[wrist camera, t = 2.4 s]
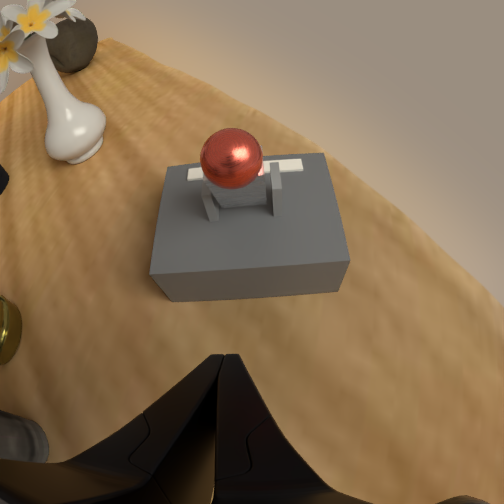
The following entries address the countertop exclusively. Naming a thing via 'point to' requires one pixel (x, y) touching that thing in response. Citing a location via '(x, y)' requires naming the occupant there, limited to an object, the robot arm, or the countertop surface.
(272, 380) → the countertop surface
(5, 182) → the black bottle
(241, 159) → the switch lever
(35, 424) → the beverage cup
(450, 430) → the countertop surface
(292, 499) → the robot arm
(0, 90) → the flower vase
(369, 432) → the countertop surface
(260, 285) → the switch box
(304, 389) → the countertop surface
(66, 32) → the dark brown ball
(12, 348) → the salt shaker
